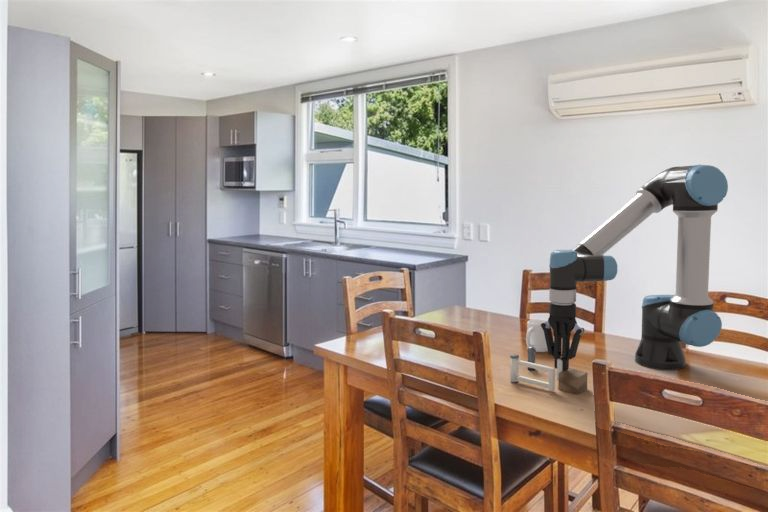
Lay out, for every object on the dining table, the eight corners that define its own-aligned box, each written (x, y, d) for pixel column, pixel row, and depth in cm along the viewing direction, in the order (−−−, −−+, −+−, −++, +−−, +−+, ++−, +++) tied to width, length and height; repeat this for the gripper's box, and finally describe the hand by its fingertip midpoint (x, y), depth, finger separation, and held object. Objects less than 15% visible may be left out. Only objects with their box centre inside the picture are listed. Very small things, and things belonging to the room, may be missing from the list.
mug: (536, 356, 192) (536, 327, 191) (516, 351, 199) (516, 323, 198) (554, 349, 200) (555, 321, 199) (535, 344, 206) (535, 318, 205)
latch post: (537, 369, 179) (537, 346, 178) (533, 371, 177) (533, 348, 176) (529, 367, 181) (529, 345, 180) (525, 369, 179) (525, 347, 178)
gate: (508, 381, 168) (508, 355, 167) (512, 378, 169) (513, 353, 168) (551, 392, 158) (551, 365, 157) (555, 389, 159) (556, 363, 158)
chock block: (587, 388, 160) (587, 372, 160) (577, 394, 156) (578, 377, 156) (568, 383, 165) (568, 367, 164) (558, 389, 160) (558, 372, 160)
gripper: (589, 303, 158) (587, 381, 161) (548, 297, 167) (547, 371, 170) (578, 307, 153) (576, 388, 156) (536, 301, 162) (535, 378, 165)
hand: (561, 379), depth 163 cm, fingers closed
